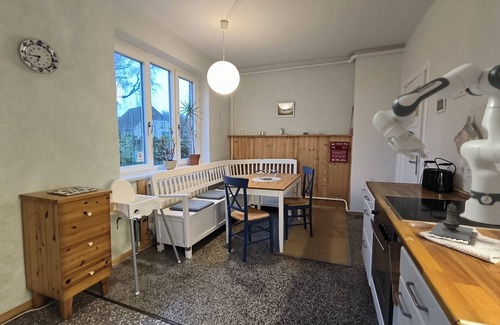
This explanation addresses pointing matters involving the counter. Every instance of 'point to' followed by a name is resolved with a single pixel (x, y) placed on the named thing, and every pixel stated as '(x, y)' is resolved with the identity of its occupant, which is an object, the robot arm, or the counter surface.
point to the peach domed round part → (419, 225)
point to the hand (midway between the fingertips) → (419, 158)
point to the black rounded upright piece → (451, 219)
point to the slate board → (461, 235)
